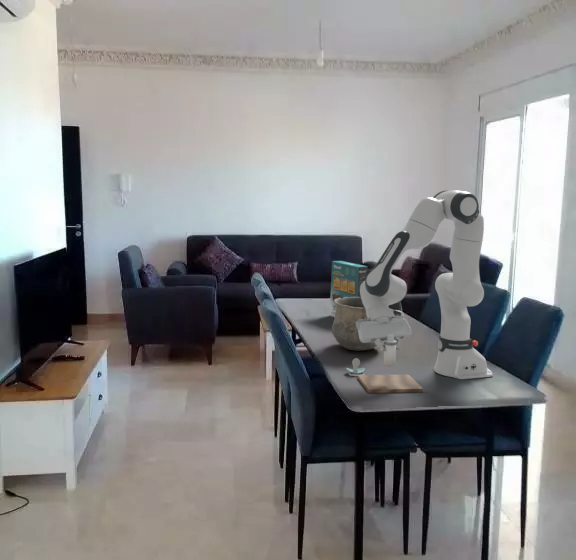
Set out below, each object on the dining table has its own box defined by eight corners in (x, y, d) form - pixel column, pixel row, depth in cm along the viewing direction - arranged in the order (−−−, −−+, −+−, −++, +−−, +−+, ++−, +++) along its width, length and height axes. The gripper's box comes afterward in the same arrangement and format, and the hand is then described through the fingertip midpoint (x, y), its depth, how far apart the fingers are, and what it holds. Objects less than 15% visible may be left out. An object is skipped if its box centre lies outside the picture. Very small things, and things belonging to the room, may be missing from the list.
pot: (390, 357, 265) (393, 308, 262) (335, 356, 263) (337, 307, 260) (377, 341, 290) (380, 296, 286) (327, 340, 288) (329, 295, 284)
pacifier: (367, 377, 238) (363, 372, 244) (368, 362, 237) (364, 356, 243) (348, 377, 237) (345, 372, 243) (349, 362, 236) (346, 357, 242)
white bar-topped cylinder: (393, 362, 231) (394, 333, 229) (397, 366, 226) (398, 336, 225) (381, 362, 230) (382, 333, 228) (385, 366, 226) (386, 336, 224)
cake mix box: (364, 323, 325) (367, 266, 320) (355, 324, 322) (358, 267, 317) (338, 314, 343) (340, 260, 338) (329, 315, 340) (332, 261, 335)
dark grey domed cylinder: (377, 321, 331) (379, 293, 328) (391, 318, 337) (393, 291, 334) (391, 325, 323) (393, 296, 320) (405, 322, 329) (407, 294, 326)
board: (408, 377, 239) (408, 374, 239) (422, 391, 223) (423, 388, 223) (357, 378, 236) (357, 375, 236) (368, 392, 221) (368, 389, 220)
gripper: (357, 315, 229) (367, 348, 221) (406, 311, 235) (418, 343, 227) (351, 324, 234) (361, 356, 226) (400, 320, 240) (412, 352, 232)
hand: (390, 350), depth 227 cm, fingers closed on white bar-topped cylinder, 4 cm apart
